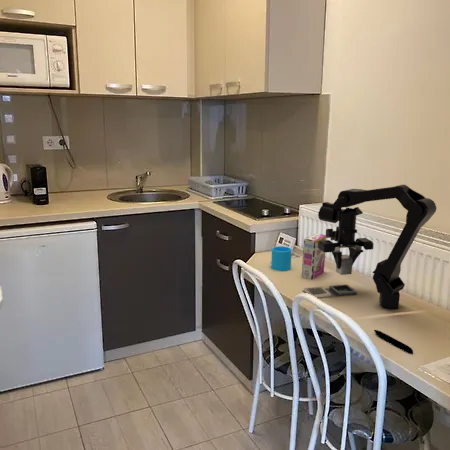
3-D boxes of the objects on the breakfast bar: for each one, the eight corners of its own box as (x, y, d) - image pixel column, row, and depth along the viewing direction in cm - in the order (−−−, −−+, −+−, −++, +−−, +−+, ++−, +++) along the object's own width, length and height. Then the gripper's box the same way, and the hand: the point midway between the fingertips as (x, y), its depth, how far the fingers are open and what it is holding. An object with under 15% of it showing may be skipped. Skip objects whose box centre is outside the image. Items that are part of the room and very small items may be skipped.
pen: (375, 333, 138) (375, 328, 138) (414, 354, 126) (415, 348, 126) (371, 334, 137) (372, 329, 137) (410, 355, 125) (411, 350, 125)
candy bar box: (312, 282, 178) (315, 240, 174) (301, 279, 181) (302, 238, 177) (324, 274, 187) (327, 234, 183) (313, 271, 190) (315, 232, 186)
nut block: (351, 274, 163) (352, 257, 162) (341, 274, 163) (342, 258, 161) (346, 270, 167) (347, 254, 166) (335, 271, 166) (336, 255, 165)
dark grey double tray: (358, 297, 164) (358, 291, 163) (310, 301, 160) (311, 296, 159) (347, 288, 171) (347, 283, 171) (301, 293, 167) (302, 287, 167)
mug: (294, 269, 192) (295, 250, 190) (276, 272, 189) (277, 252, 187) (280, 261, 203) (281, 243, 201) (263, 263, 200) (264, 245, 198)
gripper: (359, 219, 170) (356, 259, 174) (312, 221, 166) (310, 262, 170) (376, 226, 160) (372, 269, 164) (326, 229, 156) (323, 273, 159)
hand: (343, 268), depth 165 cm, fingers closed on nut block, 4 cm apart
